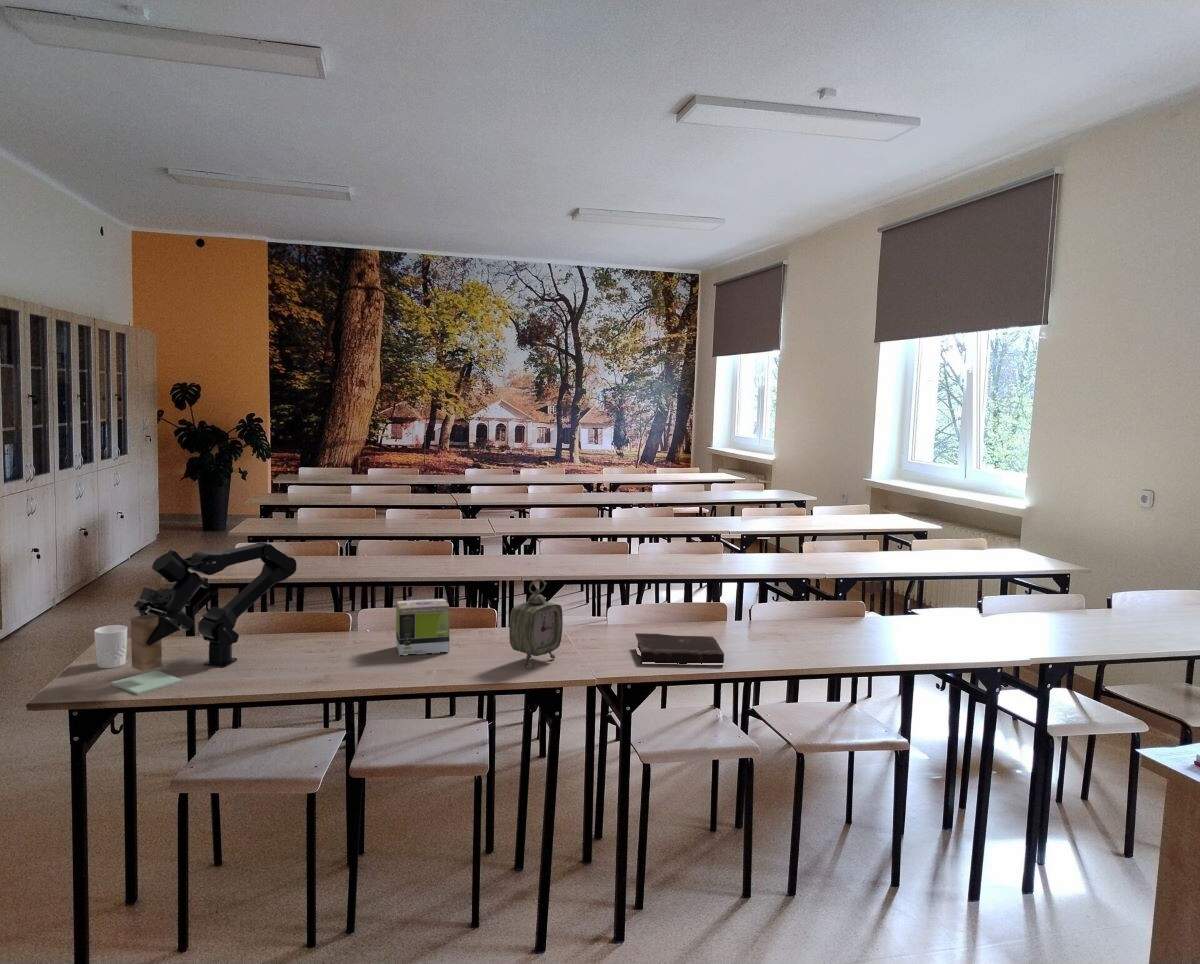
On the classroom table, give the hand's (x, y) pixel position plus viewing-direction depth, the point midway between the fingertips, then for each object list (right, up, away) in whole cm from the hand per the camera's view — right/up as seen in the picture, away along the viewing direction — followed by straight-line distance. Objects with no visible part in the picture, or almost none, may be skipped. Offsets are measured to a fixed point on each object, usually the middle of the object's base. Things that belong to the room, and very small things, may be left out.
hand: (141, 642), depth 217 cm
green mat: (0, -11, +2) cm, 11 cm away
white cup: (-16, -9, +15) cm, 24 cm away
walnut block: (0, -7, +2) cm, 7 cm away
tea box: (+64, -10, +40) cm, 76 cm away
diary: (+142, -13, +44) cm, 149 cm away
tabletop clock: (+98, -12, +33) cm, 104 cm away
